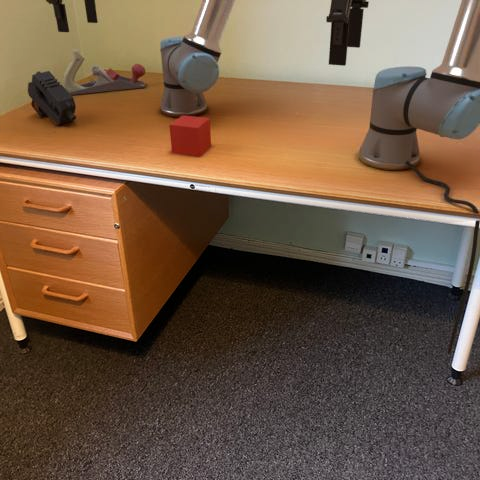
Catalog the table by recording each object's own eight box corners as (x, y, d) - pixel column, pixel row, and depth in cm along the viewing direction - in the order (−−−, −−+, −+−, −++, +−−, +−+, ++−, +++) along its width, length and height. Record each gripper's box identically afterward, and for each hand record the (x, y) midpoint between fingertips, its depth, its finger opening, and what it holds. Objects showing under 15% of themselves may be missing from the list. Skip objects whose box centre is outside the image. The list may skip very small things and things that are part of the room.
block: (184, 142, 151) (182, 115, 147) (211, 146, 149) (209, 118, 145) (171, 152, 145) (169, 124, 141) (199, 156, 143) (197, 127, 138)
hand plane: (62, 90, 197) (53, 48, 189) (145, 82, 205) (140, 41, 197) (62, 96, 191) (54, 53, 184) (148, 87, 199) (143, 45, 191)
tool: (41, 101, 176) (45, 64, 165) (76, 140, 172) (84, 104, 161) (24, 106, 172) (28, 69, 162) (60, 145, 168) (67, 110, 157)
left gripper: (79, -68, 139) (91, 18, 151) (17, -65, 119) (37, 35, 130) (104, -68, 137) (115, 19, 149) (46, -65, 117) (63, 37, 128)
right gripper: (348, -89, 92) (338, 39, 103) (313, -87, 72) (306, 71, 84) (392, -90, 90) (377, 41, 101) (369, -88, 70) (354, 75, 81)
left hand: (78, 27), depth 140 cm, fingers open, 13 cm apart
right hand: (345, 55), depth 92 cm, fingers open, 13 cm apart
